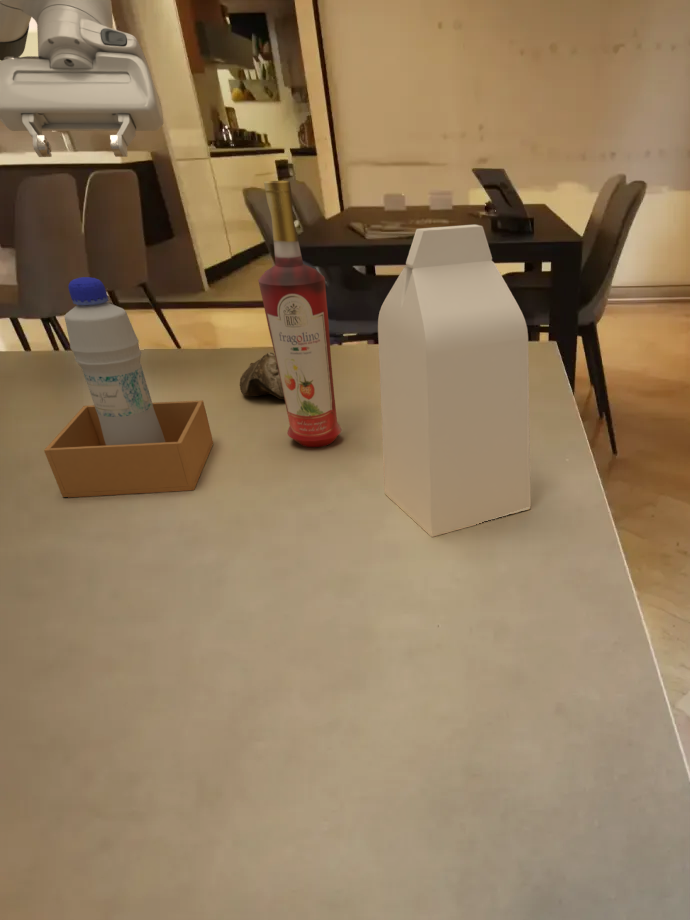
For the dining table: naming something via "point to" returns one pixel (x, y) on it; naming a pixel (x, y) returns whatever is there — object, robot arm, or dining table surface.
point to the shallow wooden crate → (132, 454)
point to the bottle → (111, 365)
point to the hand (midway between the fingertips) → (81, 153)
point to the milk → (454, 385)
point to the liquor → (299, 328)
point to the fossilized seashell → (262, 378)
